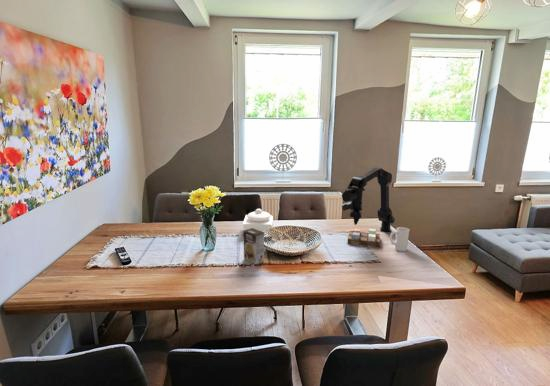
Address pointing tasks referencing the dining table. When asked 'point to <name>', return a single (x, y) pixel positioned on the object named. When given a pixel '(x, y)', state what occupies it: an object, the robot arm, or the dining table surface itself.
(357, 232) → the key terracotta
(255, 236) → the coffee box
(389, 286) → the dining table surface
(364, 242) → the brown shallow tray
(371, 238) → the cream white cube
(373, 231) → the key sage
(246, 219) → the white lidded jar
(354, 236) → the key slate
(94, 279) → the dining table surface
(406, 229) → the mug
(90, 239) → the dining table surface
